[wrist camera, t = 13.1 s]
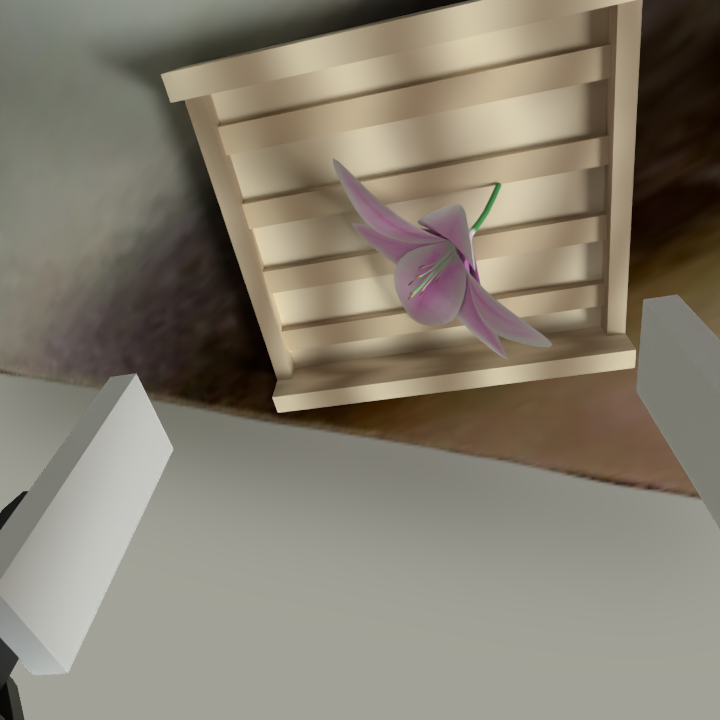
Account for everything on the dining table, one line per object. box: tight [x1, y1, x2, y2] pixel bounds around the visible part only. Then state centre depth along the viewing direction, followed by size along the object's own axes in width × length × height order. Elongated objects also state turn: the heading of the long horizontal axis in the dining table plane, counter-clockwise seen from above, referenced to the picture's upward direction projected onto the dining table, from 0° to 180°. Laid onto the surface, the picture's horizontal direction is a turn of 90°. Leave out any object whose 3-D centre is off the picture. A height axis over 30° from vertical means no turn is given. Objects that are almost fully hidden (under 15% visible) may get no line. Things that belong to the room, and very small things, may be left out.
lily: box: [333, 159, 553, 360], centre depth 28 cm, size 12×12×10 cm
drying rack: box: [161, 0, 642, 413], centre depth 30 cm, size 21×19×4 cm
